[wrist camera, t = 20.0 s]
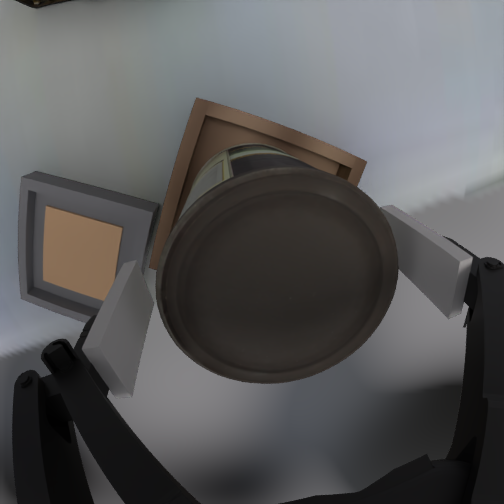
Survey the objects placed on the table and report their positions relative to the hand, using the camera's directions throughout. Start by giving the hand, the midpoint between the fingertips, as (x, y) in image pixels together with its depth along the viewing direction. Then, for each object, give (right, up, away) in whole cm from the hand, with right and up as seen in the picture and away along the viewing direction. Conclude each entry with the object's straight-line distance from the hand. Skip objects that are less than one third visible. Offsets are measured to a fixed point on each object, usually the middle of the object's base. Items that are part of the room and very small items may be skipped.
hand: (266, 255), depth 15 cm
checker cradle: (-17, 0, +10) cm, 20 cm away
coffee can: (-1, +4, +10) cm, 10 cm away
